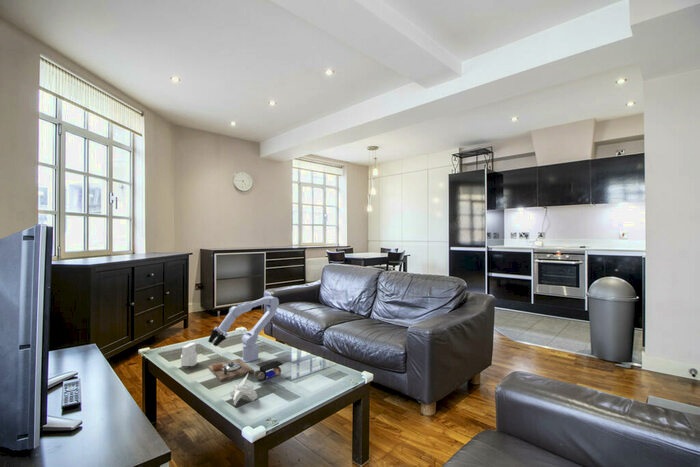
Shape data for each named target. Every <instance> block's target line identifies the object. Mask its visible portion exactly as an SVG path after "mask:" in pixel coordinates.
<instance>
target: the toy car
mask: <svg viewBox="0 0 700 467" xmlns="http://www.w3.org/2000/svg"><path fill="white" fill-rule="evenodd" d="M283 365H284V364H283V363H281V361H278V360H276V361H272V362H269V363H266V364H264V365H262V366H259V369H255V370H254V372H253V376H254V377H255V378H258V381H260V382H261V383H263V382H264V381H266V380H267V379H269V378H273V377H274V376H275V377H278V376H280V375H281V373H282V369H281V367H280V366H283Z"/></svg>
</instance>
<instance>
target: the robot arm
mask: <svg viewBox="0 0 700 467" xmlns="http://www.w3.org/2000/svg"><path fill="white" fill-rule="evenodd" d="M279 301H280V300H279V297H275V296H272V295H267V296H263V297H262V298H259V299H256V300H254V301H252V302H250V301H245V302H244V303H241V304H237V305H233V306H231V307H229V309H228V313H227V314H226V316H225V318H224V319H223V320H222V322H221V323H220V324H219V326H218V327H217V326H215V327H214V329H211V333H210V336H209V338H208V340H207V342H209V343H210V344H212V343H213V346H214V347H217V346H218V345H220V344H221V343H222V342H223V341H225V340H227V336H228V333H227V332H228V331H229V329H230V328H231V327H232V326H231V325H233V324H234V322H235V321H236V319H237V318H238V317H240V316H241V315H242V314H244V313H247V312H250V311H252V309H253V308H256V307H259V306H262V305H265V306H266V312H265V313H264V314H262V317H261V318H259V320H258V321H257V323H256V324H255V325H254V326H253V327H252V328H251V329H250V330H248V331H247V332H246V333H245V334H242V336H241V342H242V357H240V358H239V359H241V360H242V361H243V362H244V363H248V362H252V361H255V360H256V361H257V360H259V359H260V358H259V345H258V344H257V340H258V338H259V335H260V333H261V332H262V330H263V329H264V328H265V326H266V325H267V324H268V323H269V322H270V320H271V319H273V317H274V315H275V314H276V313H277V309H278V306H279V305H280V302H279ZM213 341H214V342H213Z"/></svg>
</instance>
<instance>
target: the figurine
mask: <svg viewBox="0 0 700 467" xmlns="http://www.w3.org/2000/svg"><path fill="white" fill-rule="evenodd" d="M248 376H249V374H246V375H245V377H244V378H243V380H241V382H240V383H239V384H238V385H237V384H235V385H233V388H234V389H233V390H231V391H230V393H229V394H230V395H229V396H230V397H231V398H232V401H233V405H234V406H236V405H237V403H238V402H239V401H240V399H241V398H242V397H243V396H246V397H247V398H249V399H250V400H251V401H253V402H254V401H256V399H257V398H258V397H259V396H258V394H257V391H256V390H254V385H251V386H250V385H249V386H248V385H247V383H248V381H249V380H248V379H247V378H248Z"/></svg>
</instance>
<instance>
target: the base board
mask: <svg viewBox="0 0 700 467" xmlns="http://www.w3.org/2000/svg"><path fill="white" fill-rule="evenodd" d="M228 362H236V363H240V368H239V369H237V370H235V371H228V372H227V367H224V371H222V370H221V369H220V370H213V364H211V365H208V367H207V369H208V370H209V371H210V372H211V373H212V374H213V375H214V376H215V377H216V378H217V379H218V381H220V382H224V381H227V380H231V379H235V378H239V377H242V376H246V375H247V374H248V375H249V374H254V372H255V370H254V368H253V367H251V366H249V364H247V362H244V361H242V360H241V359H240V358H236V359H231V360H227V361H224V362H223V361H222V363H223V365H224V364H227V363H228ZM220 363H221V362H220ZM220 363H218V362H217V364H220Z"/></svg>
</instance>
